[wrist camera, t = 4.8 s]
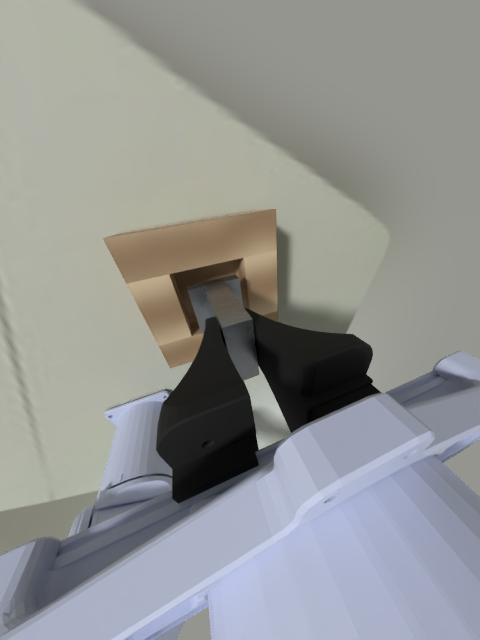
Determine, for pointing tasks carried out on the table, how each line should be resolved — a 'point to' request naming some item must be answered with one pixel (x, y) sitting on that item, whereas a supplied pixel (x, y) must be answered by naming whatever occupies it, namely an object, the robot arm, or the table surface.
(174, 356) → the well block
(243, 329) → the grey block
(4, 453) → the table surface
